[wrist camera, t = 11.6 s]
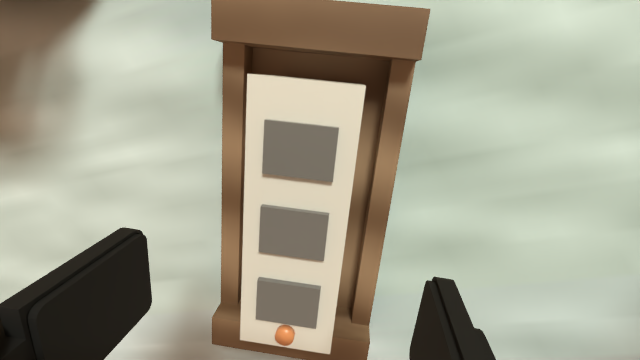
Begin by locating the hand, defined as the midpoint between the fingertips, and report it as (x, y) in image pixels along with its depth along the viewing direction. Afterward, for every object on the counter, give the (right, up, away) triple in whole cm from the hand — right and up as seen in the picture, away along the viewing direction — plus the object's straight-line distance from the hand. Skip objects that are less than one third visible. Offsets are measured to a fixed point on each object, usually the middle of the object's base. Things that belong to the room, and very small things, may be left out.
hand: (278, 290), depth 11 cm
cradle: (+1, +3, +11) cm, 12 cm away
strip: (+1, +3, +11) cm, 11 cm away
